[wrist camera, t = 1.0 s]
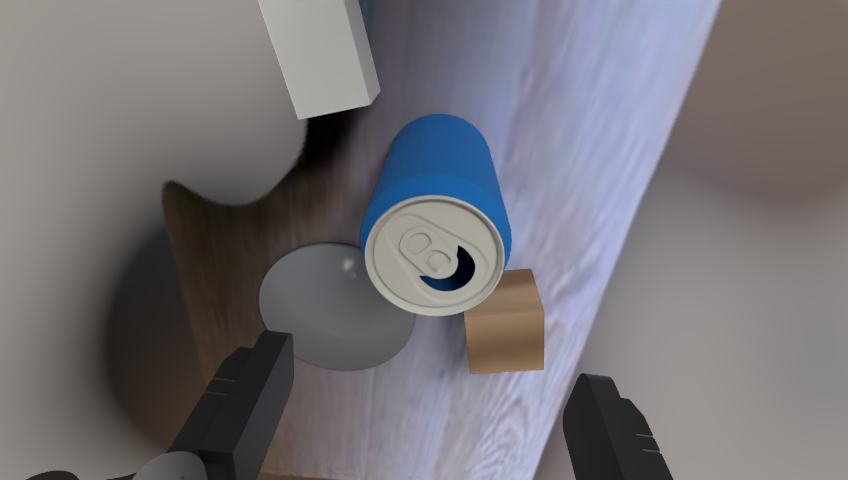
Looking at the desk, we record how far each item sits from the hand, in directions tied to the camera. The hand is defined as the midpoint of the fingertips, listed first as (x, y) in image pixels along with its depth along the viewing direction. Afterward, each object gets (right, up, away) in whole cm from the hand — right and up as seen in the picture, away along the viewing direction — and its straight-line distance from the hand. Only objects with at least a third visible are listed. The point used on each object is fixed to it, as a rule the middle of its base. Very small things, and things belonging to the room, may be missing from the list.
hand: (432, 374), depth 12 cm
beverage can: (+1, +9, +16) cm, 18 cm away
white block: (-5, +15, +13) cm, 20 cm away
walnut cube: (+5, -1, +21) cm, 21 cm away
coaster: (-7, -2, +22) cm, 23 cm away
